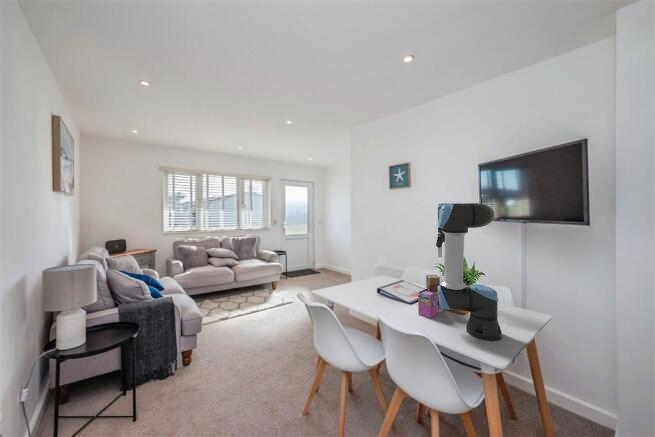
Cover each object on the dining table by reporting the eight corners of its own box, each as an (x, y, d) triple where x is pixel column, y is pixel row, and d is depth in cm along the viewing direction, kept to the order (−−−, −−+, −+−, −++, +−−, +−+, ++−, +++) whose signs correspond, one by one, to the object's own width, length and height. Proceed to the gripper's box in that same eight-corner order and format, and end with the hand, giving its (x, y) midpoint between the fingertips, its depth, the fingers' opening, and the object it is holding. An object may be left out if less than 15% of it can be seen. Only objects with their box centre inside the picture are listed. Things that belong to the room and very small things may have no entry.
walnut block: (440, 290, 159) (440, 277, 158) (429, 290, 159) (429, 277, 158) (436, 287, 165) (435, 274, 164) (426, 287, 165) (425, 274, 165)
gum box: (435, 304, 173) (435, 283, 173) (447, 307, 168) (447, 286, 167) (417, 315, 156) (417, 292, 156) (431, 318, 151) (431, 295, 150)
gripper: (458, 228, 163) (458, 262, 164) (441, 225, 188) (441, 255, 189) (446, 228, 163) (446, 262, 164) (430, 225, 188) (431, 255, 189)
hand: (443, 259), depth 176 cm, fingers open, 13 cm apart
